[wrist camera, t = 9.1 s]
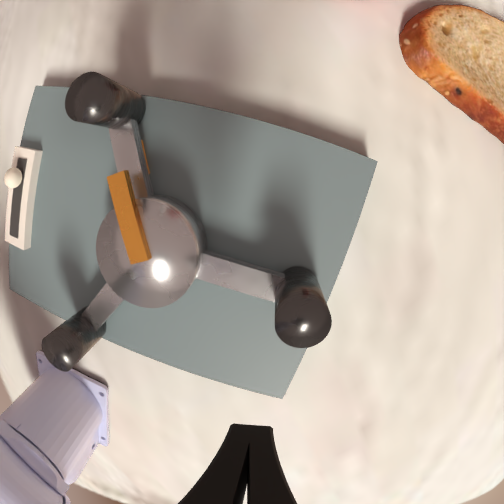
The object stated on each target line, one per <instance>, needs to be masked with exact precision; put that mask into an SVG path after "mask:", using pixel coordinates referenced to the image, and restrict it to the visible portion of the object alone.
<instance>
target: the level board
mask: <svg viewBox="0 0 504 504" xmlns="http://www.w3.org/2000/svg"><path fill="white" fill-rule="evenodd" d="M69 88H70V87H55V86H36V87H35V90H34V93H33V97H32V100H31V104H30V107H29V111H28V115H27V119H26V123H25V127H24V131H23V136H22V140H21V145H20V146H15V151H14V156H13V162H12V168H10V169H9V170H8V171H7V172H6V174H5V177H4V181H5V184H6V185H7V187H9V190H8V199H7V210H6V225H5V241H6V242H8V243H9V283H10V289H11V290H12V291H14V292H16V293H17V294H19V295H21V296H22V297H24V298H26V299H28V300H29V301H31V302H33V303H35V304H36V305H38V306H40V307H42V308H44V309H45V310H47V311H49V312H51V313H53V314H55V315H57V316H58V317H60V318H62V319H64V320H68V319H69V318H70V317H72V316H73V315H74V314H75V313H77V312H78V311H79V310H81V309H82V308H84V307H88V306H89V304H90V303H91V302H92V301H93V299H94V298H95V297H96V295H97V294H98V293H99V292H100V290H101V289H102V288H103V287H104V285H105V284H106V283H107V282H106V281H105V279H104V277H103V275H102V273H101V271H100V268H99V265H98V261H97V256H96V239H97V234H98V231H99V227H100V225H101V223H102V221H103V220H104V218H105V217H106V215H107V214H108V213H109V212H110V211H111V210H112V209H113V208H114V205H113V201H112V197H111V193H110V189H109V185H108V181H107V177H108V176H110V175H113V174H115V173H118V172H117V167H116V163H115V158H114V153H113V149H112V144H111V139H110V134H109V128H106V127H101V126H96V125H92V124H87V123H82V122H77V121H74V120H72V119H70V118H69V116H68V115H67V113H66V110H65V98H66V94H67V92H68V90H69ZM141 96H142V97H143V99H144V101H145V105H146V110H145V114H144V117H143V119H142V121H141V122H140V123H139V124H138V129H139V134H140V138H141V143H142V147H143V152H144V156H145V161H146V165H147V169H148V173H149V177H150V181H151V185H152V189H153V193H154V195H165V196H170V197H173V198H176V199H178V200H180V201H182V202H183V203H185V204H186V205H188V206H189V207H190V208H191V209H192V210H193V211H194V212H195V214H196V215H197V216H198V218H199V219H200V221H201V223H202V225H203V227H204V230H205V233H206V238H207V246H208V247H207V250H209V251H213V252H216V253H219V254H222V255H226V256H229V257H232V258H236V259H239V260H242V261H245V262H249V263H252V264H255V265H259V266H262V267H265V268H269V269H272V270H275V271H279V272H283V271H284V270H286V269H287V268H290V267H294V266H302V267H305V268H308V269H309V270H311V271H312V272H313V273H314V274H315V275H316V277H317V279H318V282H319V285H320V287H321V290H322V293H323V295H324V298H325V301H326V303H327V301H328V299H329V296H330V294H331V291H332V289H333V286H334V284H335V281H336V279H337V276H338V274H339V271H340V269H341V266H342V264H343V261H344V258H345V256H346V253H347V250H348V248H349V245H350V242H351V240H352V237H353V234H354V231H355V228H356V226H357V223H358V220H359V217H360V214H361V211H362V208H363V205H364V202H365V199H366V196H367V193H368V190H369V187H370V184H371V181H372V178H373V174H374V171H375V168H376V165H377V161H375V160H373V159H371V158H368V157H366V156H363V155H361V154H358V153H356V152H353V151H350V150H348V149H345V148H343V147H340V146H337V145H334V144H332V143H329V142H326V141H323V140H320V139H318V138H315V137H312V136H309V135H306V134H303V133H300V132H297V131H294V130H290V129H287V128H284V127H281V126H277V125H274V124H271V123H267V122H264V121H260V120H257V119H253V118H249V117H245V116H242V115H238V114H234V113H230V112H226V111H222V110H217V109H213V108H209V107H204V106H199V105H195V104H190V103H185V102H180V101H175V100H169V99H163V98H158V97H152V96H145V95H141ZM105 323H106V333H105V335H104V336H103V337H102V338H104V339H106V340H108V341H110V342H113V343H115V344H117V345H120V346H122V347H124V348H127V349H129V350H131V351H134V352H136V353H139V354H141V355H144V356H146V357H149V358H151V359H154V360H157V361H159V362H162V363H165V364H167V365H170V366H173V367H176V368H178V369H181V370H184V371H187V372H190V373H193V374H196V375H199V376H202V377H205V378H208V379H211V380H215V381H218V382H221V383H224V384H228V385H231V386H235V387H238V388H242V389H245V390H249V391H253V392H257V393H260V394H264V395H268V396H272V397H276V398H281V399H282V398H283V396H284V395H285V393H286V391H287V389H288V387H289V385H290V383H291V380H292V378H293V376H294V374H295V372H296V370H297V368H298V366H299V364H300V362H301V360H302V358H303V355H304V353H305V351H306V349H307V348H295V347H292V346H289V345H287V344H285V343H284V342H283V341H282V340H281V339H280V338H279V337H278V335H277V333H276V331H275V302H272V301H268V300H265V299H262V298H258V297H255V296H251V295H248V294H245V293H241V292H238V291H235V290H232V289H228V288H225V287H222V286H219V285H215V284H212V283H209V282H206V281H203V280H200V279H195V281H194V282H193V283H192V285H191V286H190V287H189V289H188V290H187V291H186V293H185V294H184V295H183V296H182V297H181V298H179V299H178V300H177V301H175V302H174V303H172V304H170V305H167V306H164V307H160V308H144V307H139V306H136V305H133V304H131V303H129V302H127V301H126V300H124V301H123V302H122V303H121V304H120V306H119V307H118V308H117V309H116V310H115V311H114V312H113V314H112V315H111V316H110V317H109V318H108V319H107V320H106V322H105Z"/></svg>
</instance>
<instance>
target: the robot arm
mask: <svg viewBox="0 0 504 504" xmlns="http://www.w3.org/2000/svg"><path fill="white" fill-rule="evenodd" d="M36 357H37V365H38V372H39V377H38V378H37V379H36V380H35V381H34V382H33V383H32V384H31V385H30V386H29V387H28V388H27V389H26V390H25V391H24V392H23V393H22V394H21V395H20V396H19V397H18V398H17V399H16V400H15V401H14V402H13V403H12V404H11V405H10V406H9V407H8V408H7V409H6V410H5V411H4V412H3V413H2V414H1V416H0V504H71V503H70V499H69V498H68V496H67V495H66V492H67V491H68V489H69V485H70V484H72V483H73V482H75V481H76V480H77V479H78V477H79V475H80V474H81V472H82V470H83V469H84V467H85V465H86V464H87V462H88V460H89V459H90V457H91V455H92V454H93V452H94V450H95V449H96V447H97V445H98V444H102V445H104V446H108V445H109V427H108V388H107V387H106V386H105V385H104V384H102V383H100V382H98V381H96V380H94V379H92V378H90V377H88V376H86V375H84V374H82V373H80V372H78V371H76V370H74V369H71V370H70V371H67V372H64V371H61V370H58V369H57V368H55V367H54V366H53V365H52V364H51V363H50V362H49V361H48V359H47V358H46V356H45V354H44V352H42V351H38V352H37V353H36ZM246 486H247V504H297V502H296V501H295V499H294V496H293V494H292V492H291V490H290V488H289V485H288V483H287V481H286V478H285V475H284V473H283V470H282V467H281V465H280V461H279V458H278V455H277V451H276V447H275V442H274V436H273V428H271V427H270V426H257V425H243V424H232V425H230V428H229V431H228V433H227V435H226V437H225V440H224V442H223V443H222V445H221V447H220V449H219V451H218V452H217V454H216V456H215V457H214V459H213V460H212V462H211V463H210V465H209V466H208V468H207V469H206V471H205V472H204V474H203V475H202V476H201V477H200V479H199V480H198V481H197V483H196V484H195V485H194V486H193V488H192V489H191V490H190V491H189V492H188V493H187V495H186V496H185V497H184V498H183V499H182V500H181V501H180V502H179V503H178V504H243V500H244V495H245V491H246Z"/></svg>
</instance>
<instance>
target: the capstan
mask: <svg viewBox="0 0 504 504" xmlns="http://www.w3.org/2000/svg"><path fill="white" fill-rule="evenodd" d="M65 110H66V113H67V115H68V116H69V118H70V119H72V120H74V121H77V122H82V123H87V124H92V125H96V126H101V127H106V128H109V134H110V139H111V144H112V149H113V153H114V158H115V163H116V167H117V172H118V173H115V174H113V175H110V176H108V177H107V181H108V185H109V189H110V193H111V197H112V201H113V205H114V208H113V209H112V210H111V211H110V212H109V213H108V214H107V215H106V217H105V218H104V220H103V221H102V223H101V225H100V227H99V231H98V234H97V239H96V256H97V261H98V265H99V268H100V271H101V273H102V275H103V277H104V279H105V281H106V282H107V283H106V284H105V285H104V287H103V288H102V289H101V290H100V292H99V293H98V294H97V295H96V297H95V298H94V299H93V301H92V302H91V303H90V304H89V306H88V307H84V308H82V309H81V310H79V311H78V312H77V313H75V314H74V315H73V316H72V317H70V318H69V319H68V320H66V321H65V322H64V323H63V324H61V325H60V326H59V327H57V328H56V329H55V330H54V331H52V332H51V333H50V334H49V335H47V336H46V337H45V338H44V339H43V341H42V349H43V352H44V354H45V356H46V358H47V359H48V361H49V362H50V363H51V364H52V365H53V366H54V367H55V368H57V369H58V370H61V371H64V372H67V371H70V370H71V369H72V368H73V367H74V366H75V365H76V363H77V362H78V361H79V360H80V359H81V358H82V357H83V356H84V355H85V354H86V353H87V352H88V351H89V350H90V349H91V348H92V347H93V346H94V345H95V344H96V343H97V342H98V341H99V340H100V339H101V338H102V337H103V336H104V335H105V333H106V323H105V322H106V320H107V319H108V318H109V317H110V316H111V315H112V314H113V312H114V311H115V310H116V309H117V308H118V307H119V306H120V304H121V303H122V302H123V301H124V300H126V301H127V302H129V303H131V304H133V305H136V306H139V307H144V308H160V307H164V306H167V305H170V304H172V303H174V302H175V301H177V300H178V299H179V298H181V297H182V296H183V295H184V294H185V293H186V291H187V290H188V289H189V287H190V286H191V285H192V283H193V282H194V281H195V279H200V280H203V281H206V282H209V283H212V284H215V285H219V286H222V287H225V288H228V289H232V290H235V291H238V292H241V293H245V294H248V295H251V296H255V297H258V298H262V299H265V300H268V301H272V302H275V331H276V333H277V335H278V337H279V338H280V339H281V340H282V341H283V342H284V343H285V344H287V345H289V346H292V347H295V348H308V347H312V346H314V345H316V344H318V343H320V342H321V341H322V340H323V339H324V338H325V337H326V336H327V335H328V333H329V331H330V328H331V322H332V320H331V315H330V312H329V309H328V306H327V304H326V301H325V298H324V295H323V293H322V290H321V287H320V285H319V282H318V279H317V277H316V275H315V274H314V273H313V272H312V271H311V270H309V269H308V268H305V267H302V266H294V267H290V268H287V269H286V270H284V271H283V272H279V271H275V270H272V269H269V268H265V267H262V266H259V265H255V264H252V263H249V262H245V261H242V260H239V259H236V258H232V257H229V256H226V255H222V254H219V253H216V252H213V251H209V250H207V247H208V246H207V238H206V233H205V230H204V227H203V225H202V223H201V221H200V219H199V218H198V216H197V215H196V214H195V212H194V211H193V210H192V209H191V208H190V207H189V206H188V205H186V204H185V203H183V202H182V201H180V200H178V199H176V198H173V197H170V196H165V195H154V193H153V189H152V185H151V181H150V177H149V173H148V169H147V165H146V161H145V156H144V152H143V147H142V143H141V138H140V134H139V129H138V124H139V123H140V122H141V121H142V119H143V117H144V114H145V110H146V105H145V101H144V99H143V97H142V96H141V95H140V94H138V93H136V92H135V91H133V90H131V89H129V88H127V87H125V86H123V85H121V84H119V83H117V82H115V81H113V80H111V79H109V78H107V77H105V76H103V75H101V74H99V73H96V72H87V73H85V74H82V75H81V76H79V77H78V78H77V79H76V80H75V81H74V82H73V83H72V84H71V86H70V88H69V90H68V92H67V94H66V98H65Z"/></svg>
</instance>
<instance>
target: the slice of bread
mask: <svg viewBox="0 0 504 504" xmlns="http://www.w3.org/2000/svg"><path fill="white" fill-rule="evenodd" d="M399 44H400V48H401V51H402V55H403V58H404V60H405V62H406V64H407V65H408V67H409V68H410V69H411V70H412V71H413V72H414V73H415V74H416V75H417V76H418V77H419V78H421V79H423V80H425V81H426V82H427V83H428V84H429V85H430V86H431V87H433V88H434V89H435V90H436V91H438V92H439V93H440V94H442V95H443V96H444V97H445V98H446V99H447V100H448V101H449V102H450V103H451V104H452V105H454V106H456V107H457V108H459V109H460V110H462V111H463V112H464V113H465V114H467V115H468V116H469V117H470V118H471V119H472V120H474V121H476V122H478V123H479V124H481V125H482V126H483V127H484V128H485V129H486V130H488V131H489V132H490V133H491V134H493V135H494V136H496V137H497V138H498V139H499V140H500V141H501V142H502V143H503V144H504V22H503V21H500V20H499V19H497V18H494V17H492V16H490V15H488V14H487V13H485V12H483V11H482V10H479V9H476V8H473V7H468V6H463V5H437V6H434V7H431V8H428V9H426V10H423V11H422V12H420V13H418V14H417V15H415V16H414V17H413V18H412V19H410V20H409V21H408V22H407V23H406V25H405V26H404V29H403V31H402V32H401V33H400V37H399Z"/></svg>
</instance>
